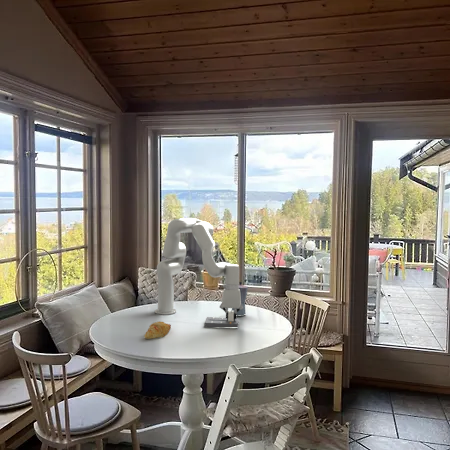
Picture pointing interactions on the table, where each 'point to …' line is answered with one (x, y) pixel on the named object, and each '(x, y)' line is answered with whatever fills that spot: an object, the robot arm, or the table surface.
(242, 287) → the moka pot
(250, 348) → the table surface
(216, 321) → the fader console
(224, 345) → the table surface
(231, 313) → the fader knob
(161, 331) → the croissant
